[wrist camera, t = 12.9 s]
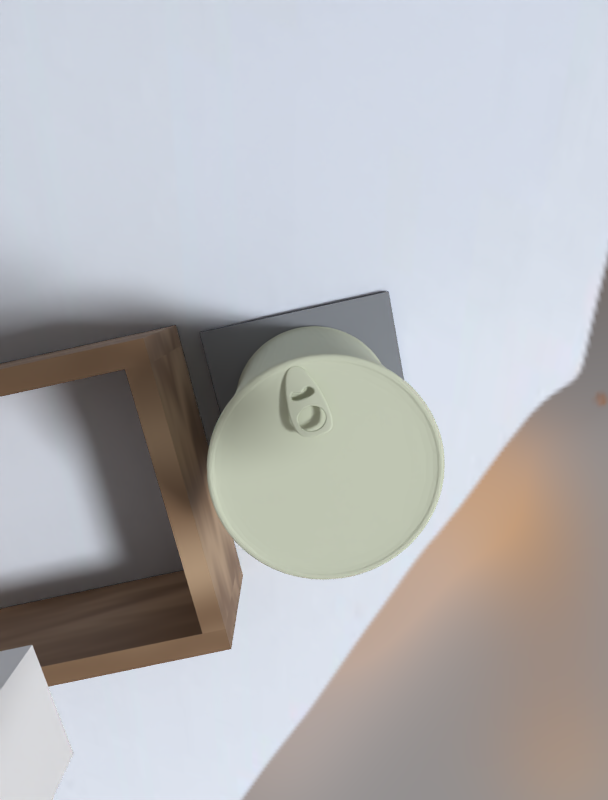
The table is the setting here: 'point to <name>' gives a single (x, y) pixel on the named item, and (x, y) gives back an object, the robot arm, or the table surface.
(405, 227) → the table surface
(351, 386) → the can
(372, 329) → the mat
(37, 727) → the robot arm
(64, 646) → the crate
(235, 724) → the table surface
